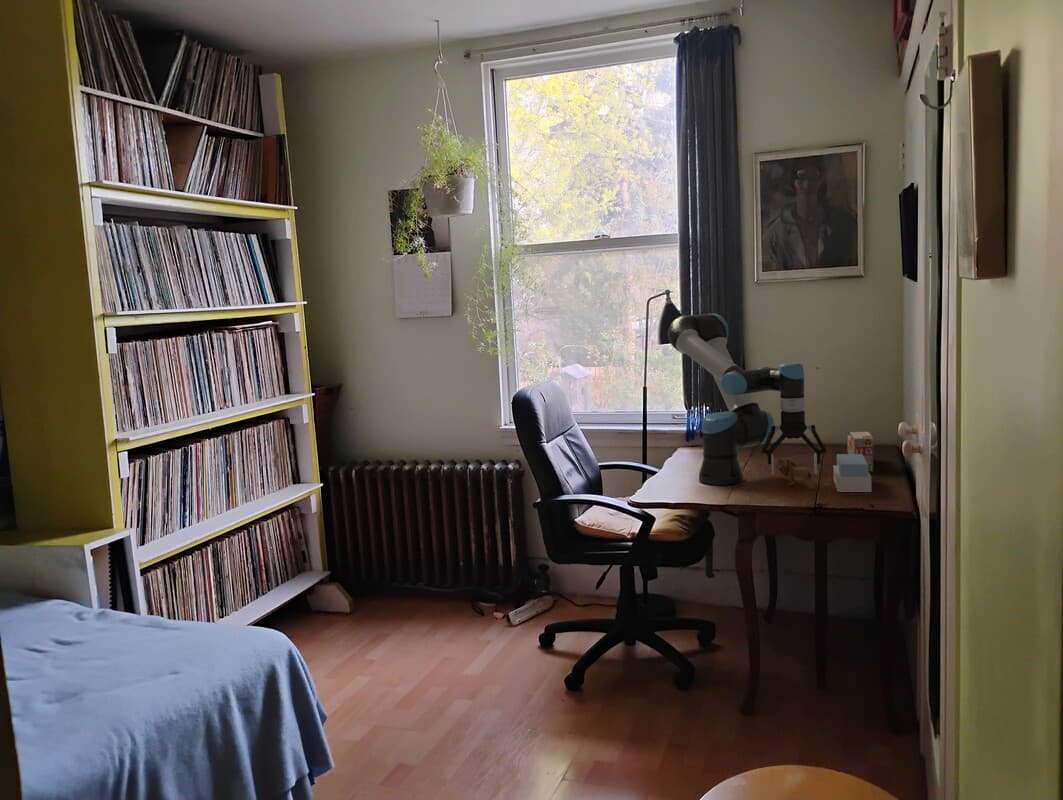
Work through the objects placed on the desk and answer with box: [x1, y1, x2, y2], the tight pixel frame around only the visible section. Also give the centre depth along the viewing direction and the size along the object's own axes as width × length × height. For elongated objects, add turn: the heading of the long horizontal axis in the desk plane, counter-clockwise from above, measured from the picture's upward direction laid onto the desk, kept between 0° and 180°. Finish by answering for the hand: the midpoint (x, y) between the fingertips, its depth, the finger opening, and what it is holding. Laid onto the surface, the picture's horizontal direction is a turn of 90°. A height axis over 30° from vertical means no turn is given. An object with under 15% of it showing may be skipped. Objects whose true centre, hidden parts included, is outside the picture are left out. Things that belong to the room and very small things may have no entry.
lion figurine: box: [776, 457, 820, 490], centre depth 279 cm, size 15×5×9 cm, turn 45°
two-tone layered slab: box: [832, 453, 872, 493], centre depth 275 cm, size 10×18×9 cm, turn 164°
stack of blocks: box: [846, 431, 874, 472], centre depth 303 cm, size 21×6×12 cm, turn 166°
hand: (794, 473), depth 280 cm, fingers open, 13 cm apart
